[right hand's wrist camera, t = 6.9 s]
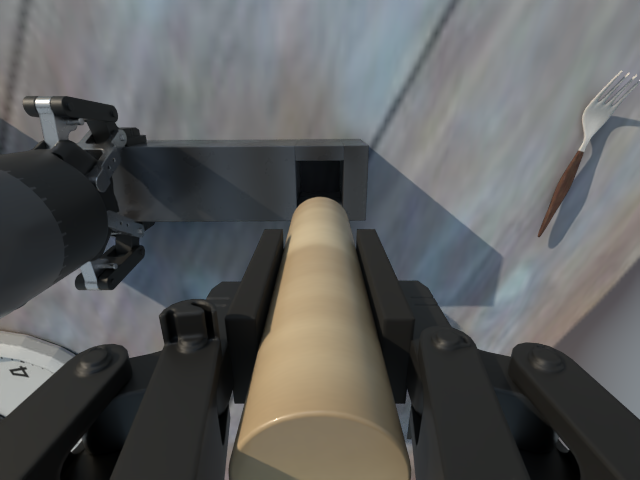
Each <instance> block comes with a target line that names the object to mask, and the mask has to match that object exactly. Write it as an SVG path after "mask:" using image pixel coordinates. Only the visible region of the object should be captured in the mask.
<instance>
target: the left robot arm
mask: <svg viewBox="0 0 640 480" xmlns="http://www.w3.org/2000/svg"><path fill="white" fill-rule="evenodd" d="M23 107H24V109H25V111H26V113H27V114H28V115H30V116H32V117H40V122H41V127H42V132H43V137H44V140H43V141H41V142H39V143H38V144H37V145H36V146H35V148H33V149H32V150H30V151H25V152H18V153H11V154H4V155H0V319H1V318H2V317H4V316H6V315H7V314H9V313H11V312H12V311H14V310H16V309H18V308H20V307H22V306H23V305H25V304H26V303H27V302H28V301H29V300H31V299H32V298H34V297H35V296H37V295H38V294H40V293H41V292H43V291H44V290H46V289H47V288H49V287H50V286H52V285H53V284H55V283H57V282H58V281H60V280H61V279H63V278H64V277H66V276H67V275H69V274H70V273H72V272H73V271H75V270H76V269H78V268H80V269H81V273H80V274H79V275H78V276H77V277H76V279H75V286H76V288H77V289H78V290H113V289H114V288H115V287H116V286H117V285H118V284H119V283H120V282H121V281H122V280H123V279H124V278H125V277H126V276H127V275H128V273H129V272H130V271H131V270H132V269H133V268H134V267H135V266H136V265H137V264H138V263H139V262H140V261H141V260H142V259H143V257H144V255H145V249H144V247H143V246H142V245H139V238H142V237H143V236H144V232H145V231H146V230H147V229H148V228H150V227H151V226H153V225H154V223H155V222H134V220H133V219H131V218H128V217H125V216H122V215H119V214H118V213H117V212H119V207H118V202H117V200H116V197H115V195H114V187H113V179H112V175H113V173H114V172H115V170H116V168H117V167H118V165H119V164H120V162H121V160H122V158H121V156H120V152H121V151H122V149H123V148H124V146H132V145H137V144H142V143H147V141H146V135H140V133H139V129H137V128H118V127H117V125H116V124H115V122H116V121H117V120H118V113H117V110H116V108H115V107H114V106H112V105H107V104H102V103H97V102H93V101H88V100H83V99H78V98H73V97H68V96H26V97H25V98H24V99H23ZM84 122H87V124H88V126H89V128H90V130H89V131H88V132H87V134H86V135H85V136H84V137H83V139H82V140H81V141H80V142H79V143H74V142H72V141H70V140H68V135H69V133H70V132H71V131H74V130H76V128H77V125H83V124H84ZM110 237H113V238H116V245H114V246H112V247H111V248H110V249H109V250H107V251H106V252H105V253H104V254H103V252H104V250H105V248H106V245H107V243H108V240H109V238H110ZM102 254H103V255H102Z"/></svg>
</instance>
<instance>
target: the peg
mask: <svg viewBox="0 0 640 480" xmlns="http://www.w3.org/2000/svg"><path fill="white" fill-rule="evenodd" d="M410 479H411V465H410V459H409V456H408V452H407V448H406V444H405V440H404V436H403V432H402V428H401V424H400V420H399V416H398V412H397V408H396V404H395V400H394V397H393V393H392V389H391V385H390V381H389V377H388V373H387V369H386V365H385V361H384V357H383V353H382V349H381V345H380V341H379V338H378V334H377V330H376V326H375V322H374V318H373V314H372V310H371V306H370V302H369V298H368V294H367V290H366V286H365V282H364V279H363V275H362V271H361V267H360V263H359V259H358V255H357V251H356V247H355V243H354V239H353V235H352V231H351V227H350V223H349V220H348V216H347V214H346V211H345V210H344V208H343V207H342V206H341V205H340V204H339V203H337V202H336V201H334V200H332V199H329V198H325V197H315V198H311V199H308V200H306V201H304V202H303V203H301V204H300V205H299V206H298V207H297V209H296V210H295V212H294V214H293V216H292V220H291V224H290V228H289V232H288V235H287V239H286V243H285V247H284V251H283V255H282V259H281V263H280V267H279V271H278V275H277V278H276V282H275V286H274V290H273V294H272V298H271V302H270V306H269V310H268V314H267V318H266V321H265V325H264V329H263V333H262V337H261V341H260V345H259V349H258V353H257V357H256V361H255V364H254V368H253V372H252V376H251V380H250V384H249V388H248V392H247V396H246V400H245V404H244V408H243V411H242V415H241V419H240V423H239V427H238V431H237V435H236V439H235V443H234V447H233V451H232V454H231V458H230V463H229V480H410Z"/></svg>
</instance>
